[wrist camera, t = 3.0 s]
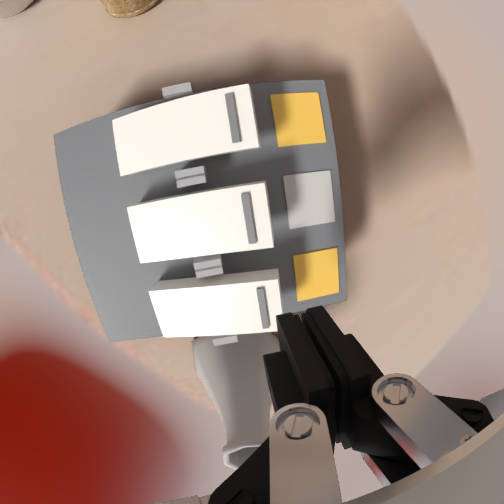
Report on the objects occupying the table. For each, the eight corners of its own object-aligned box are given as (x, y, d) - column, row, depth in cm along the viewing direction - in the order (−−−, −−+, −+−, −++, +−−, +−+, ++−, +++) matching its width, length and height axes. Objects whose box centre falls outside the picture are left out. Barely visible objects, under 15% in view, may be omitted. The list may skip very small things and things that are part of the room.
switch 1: (125, 122, 11) (110, 119, 10) (251, 90, 11) (247, 82, 9) (133, 174, 12) (118, 176, 11) (260, 148, 11) (258, 146, 10)
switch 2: (138, 202, 13) (125, 207, 11) (265, 180, 12) (264, 183, 11) (150, 254, 13) (138, 264, 12) (274, 239, 13) (273, 248, 11)
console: (90, 139, 16) (37, 132, 9) (300, 98, 17) (340, 70, 10) (129, 305, 19) (101, 358, 13) (321, 270, 20) (361, 313, 14)
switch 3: (158, 280, 14) (147, 292, 13) (277, 268, 13) (277, 280, 12) (171, 324, 15) (162, 338, 13) (284, 317, 14) (284, 332, 13)
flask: (267, 303, 21) (303, 402, 11) (291, 371, 23) (325, 464, 13) (176, 333, 21) (158, 438, 11) (212, 395, 23) (216, 491, 13)
